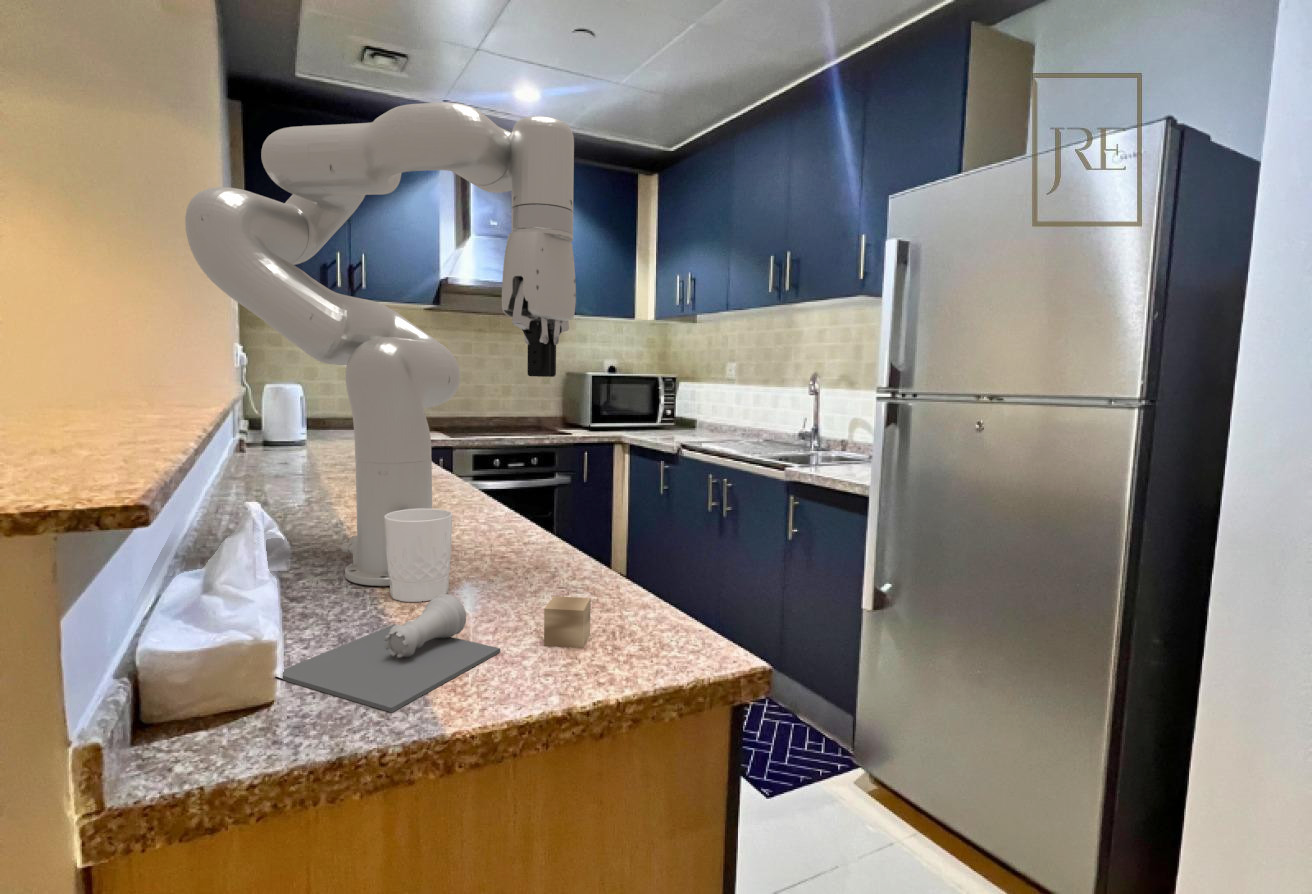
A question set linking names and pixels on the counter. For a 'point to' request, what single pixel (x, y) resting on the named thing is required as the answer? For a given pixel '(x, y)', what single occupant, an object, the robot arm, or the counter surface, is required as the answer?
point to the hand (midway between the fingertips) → (541, 376)
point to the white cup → (418, 553)
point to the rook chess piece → (427, 626)
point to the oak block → (567, 622)
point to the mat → (387, 669)
